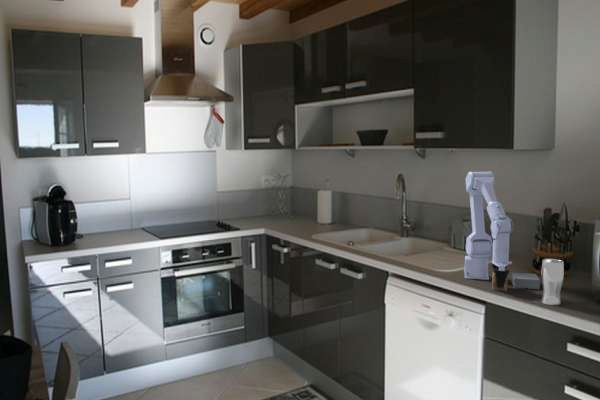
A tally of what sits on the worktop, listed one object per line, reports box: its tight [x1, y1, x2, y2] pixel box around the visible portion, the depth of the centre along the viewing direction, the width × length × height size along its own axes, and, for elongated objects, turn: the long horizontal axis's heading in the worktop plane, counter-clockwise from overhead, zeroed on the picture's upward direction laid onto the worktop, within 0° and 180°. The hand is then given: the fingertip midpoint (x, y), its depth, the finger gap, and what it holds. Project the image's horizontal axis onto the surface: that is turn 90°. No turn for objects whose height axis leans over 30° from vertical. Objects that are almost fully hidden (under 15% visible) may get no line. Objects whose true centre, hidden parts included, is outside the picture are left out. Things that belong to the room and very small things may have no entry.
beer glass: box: [540, 258, 565, 306], centre depth 179 cm, size 7×7×15 cm
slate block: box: [510, 272, 541, 290], centre depth 202 cm, size 9×9×4 cm
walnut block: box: [491, 271, 508, 292], centre depth 197 cm, size 5×5×6 cm
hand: (499, 284), depth 197 cm, fingers open, 7 cm apart
